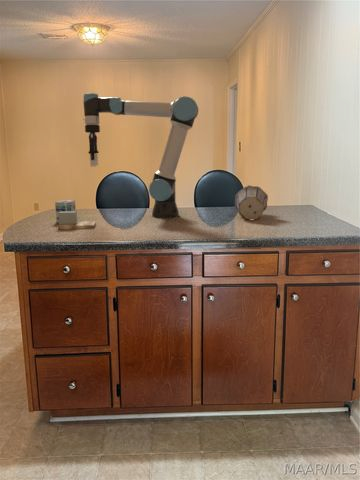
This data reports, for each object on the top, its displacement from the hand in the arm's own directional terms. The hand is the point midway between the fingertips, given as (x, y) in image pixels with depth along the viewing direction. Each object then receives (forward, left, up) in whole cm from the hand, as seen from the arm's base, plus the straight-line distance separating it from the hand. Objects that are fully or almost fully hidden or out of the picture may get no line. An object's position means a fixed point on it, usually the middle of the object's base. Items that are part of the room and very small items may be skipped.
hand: (94, 166), depth 220 cm
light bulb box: (+16, +3, -29) cm, 33 cm away
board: (+8, +21, -29) cm, 36 cm away
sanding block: (+12, +21, -27) cm, 36 cm away
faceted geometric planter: (-85, +5, -29) cm, 90 cm away
